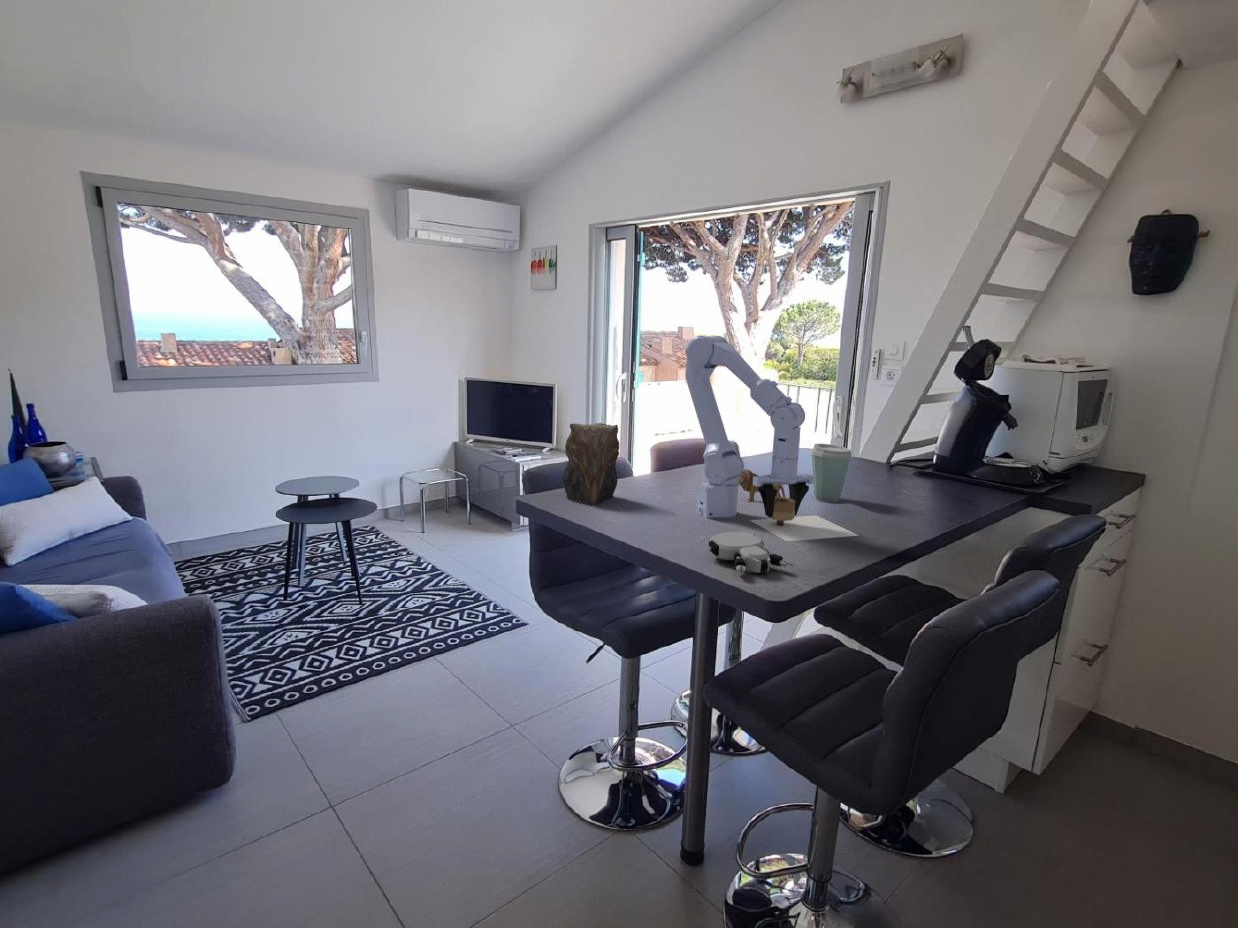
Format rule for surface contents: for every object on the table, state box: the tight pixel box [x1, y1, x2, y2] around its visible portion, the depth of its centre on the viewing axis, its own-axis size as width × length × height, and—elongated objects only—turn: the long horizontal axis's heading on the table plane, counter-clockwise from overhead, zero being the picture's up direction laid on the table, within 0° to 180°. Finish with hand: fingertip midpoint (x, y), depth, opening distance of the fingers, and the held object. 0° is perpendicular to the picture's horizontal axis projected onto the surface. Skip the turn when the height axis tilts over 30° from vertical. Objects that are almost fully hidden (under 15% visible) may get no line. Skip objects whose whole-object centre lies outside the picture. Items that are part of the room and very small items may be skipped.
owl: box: [561, 422, 620, 506], centre depth 170 cm, size 13×13×20 cm
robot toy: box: [700, 531, 790, 574], centre depth 124 cm, size 12×4×15 cm
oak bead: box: [767, 496, 796, 521], centre depth 146 cm, size 6×6×4 cm
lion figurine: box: [738, 468, 786, 503], centre depth 169 cm, size 15×5×9 cm, turn 72°
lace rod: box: [777, 502, 784, 526], centre depth 146 cm, size 2×2×6 cm
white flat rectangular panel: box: [750, 514, 859, 542], centre depth 145 cm, size 18×16×1 cm
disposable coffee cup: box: [810, 443, 852, 503], centre depth 174 cm, size 11×11×15 cm
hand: (780, 515), depth 146 cm, fingers closed on oak bead, 6 cm apart
